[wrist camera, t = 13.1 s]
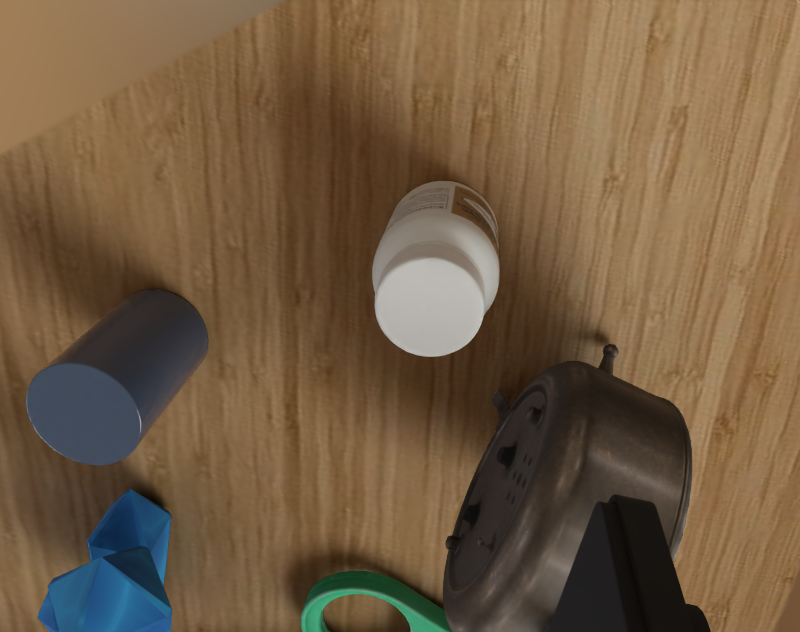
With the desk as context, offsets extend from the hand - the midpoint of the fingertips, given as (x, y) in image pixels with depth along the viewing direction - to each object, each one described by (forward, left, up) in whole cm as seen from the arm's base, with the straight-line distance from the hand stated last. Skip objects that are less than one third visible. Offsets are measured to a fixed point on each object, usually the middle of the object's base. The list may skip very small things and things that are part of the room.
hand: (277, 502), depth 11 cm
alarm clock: (+9, +8, -20) cm, 23 cm away
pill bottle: (+2, +2, -20) cm, 20 cm away
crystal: (+21, -10, -20) cm, 31 cm away
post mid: (+9, -10, -20) cm, 24 cm away
